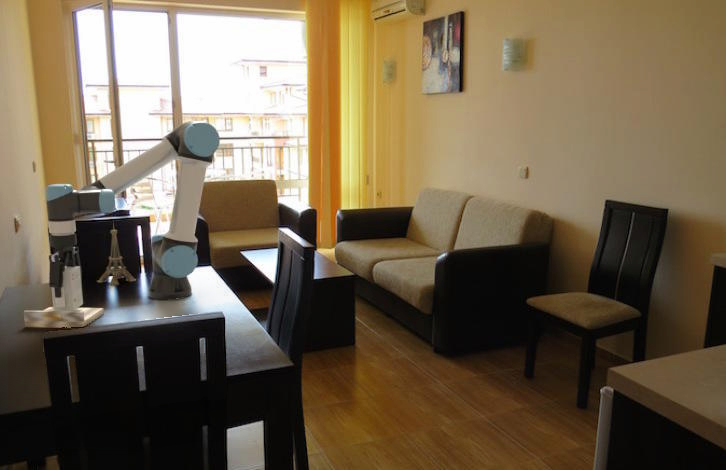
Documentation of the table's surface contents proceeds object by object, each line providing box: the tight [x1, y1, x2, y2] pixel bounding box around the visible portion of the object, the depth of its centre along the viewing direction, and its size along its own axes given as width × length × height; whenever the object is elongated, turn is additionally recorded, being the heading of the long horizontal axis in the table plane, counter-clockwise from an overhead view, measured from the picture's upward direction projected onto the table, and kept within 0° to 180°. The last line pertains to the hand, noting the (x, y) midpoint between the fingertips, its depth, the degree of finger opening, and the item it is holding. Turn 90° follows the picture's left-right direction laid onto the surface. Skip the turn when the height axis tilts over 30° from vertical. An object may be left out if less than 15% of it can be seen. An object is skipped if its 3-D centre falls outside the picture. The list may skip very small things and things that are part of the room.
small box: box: [50, 266, 84, 311], centre depth 184 cm, size 8×6×13 cm
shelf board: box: [23, 306, 105, 329], centre depth 183 cm, size 18×14×5 cm
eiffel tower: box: [96, 221, 137, 287], centre depth 230 cm, size 11×11×25 cm
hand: (68, 302), depth 185 cm, fingers closed on small box, 8 cm apart
